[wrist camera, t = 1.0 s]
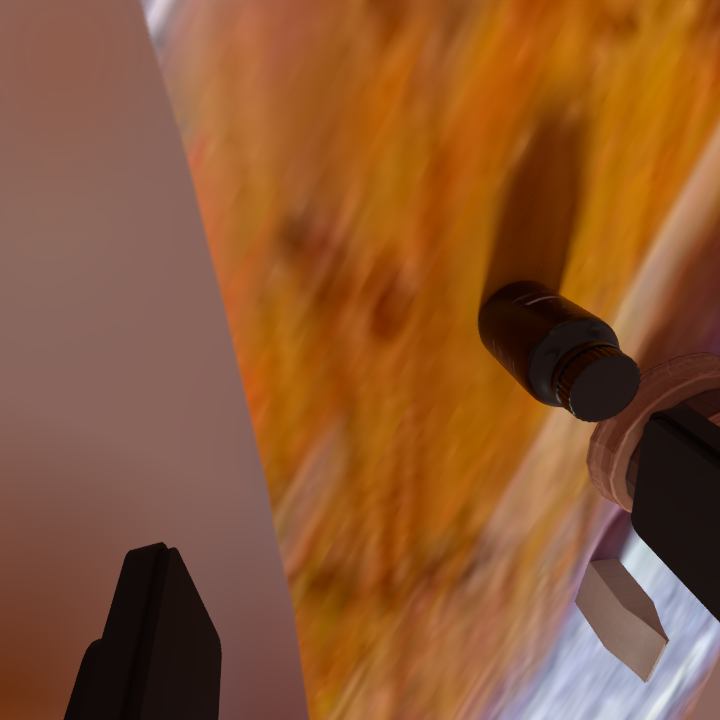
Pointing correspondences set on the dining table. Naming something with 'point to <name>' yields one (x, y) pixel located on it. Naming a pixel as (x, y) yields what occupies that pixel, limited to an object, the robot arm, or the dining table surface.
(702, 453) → the robot arm
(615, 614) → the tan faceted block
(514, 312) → the supplement bottle
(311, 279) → the dining table surface
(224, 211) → the dining table surface
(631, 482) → the mug
